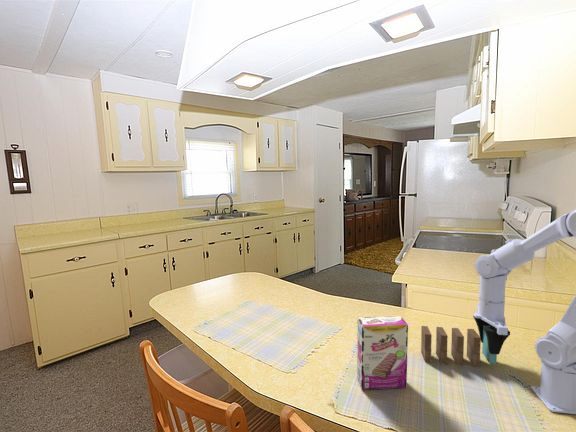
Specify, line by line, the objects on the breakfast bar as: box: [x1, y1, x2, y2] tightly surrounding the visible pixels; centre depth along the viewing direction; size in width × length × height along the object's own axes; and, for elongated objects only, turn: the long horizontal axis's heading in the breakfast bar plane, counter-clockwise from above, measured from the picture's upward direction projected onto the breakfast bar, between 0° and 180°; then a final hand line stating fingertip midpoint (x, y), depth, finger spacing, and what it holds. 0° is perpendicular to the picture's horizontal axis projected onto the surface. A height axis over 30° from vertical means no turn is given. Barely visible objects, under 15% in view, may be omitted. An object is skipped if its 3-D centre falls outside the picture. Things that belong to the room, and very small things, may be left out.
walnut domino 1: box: [420, 325, 433, 363], centre depth 88 cm, size 2×5×8 cm, turn 167°
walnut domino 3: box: [450, 327, 465, 366], centre depth 86 cm, size 2×5×8 cm, turn 168°
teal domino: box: [481, 326, 498, 365], centre depth 84 cm, size 2×5×8 cm, turn 168°
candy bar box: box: [356, 315, 409, 391], centre depth 77 cm, size 11×5×16 cm, turn 92°
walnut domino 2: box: [435, 326, 448, 365], centre depth 87 cm, size 2×5×8 cm, turn 168°
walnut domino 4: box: [466, 328, 482, 367], centre depth 85 cm, size 2×5×8 cm, turn 168°
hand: (489, 347), depth 84 cm, fingers closed on teal domino, 5 cm apart
